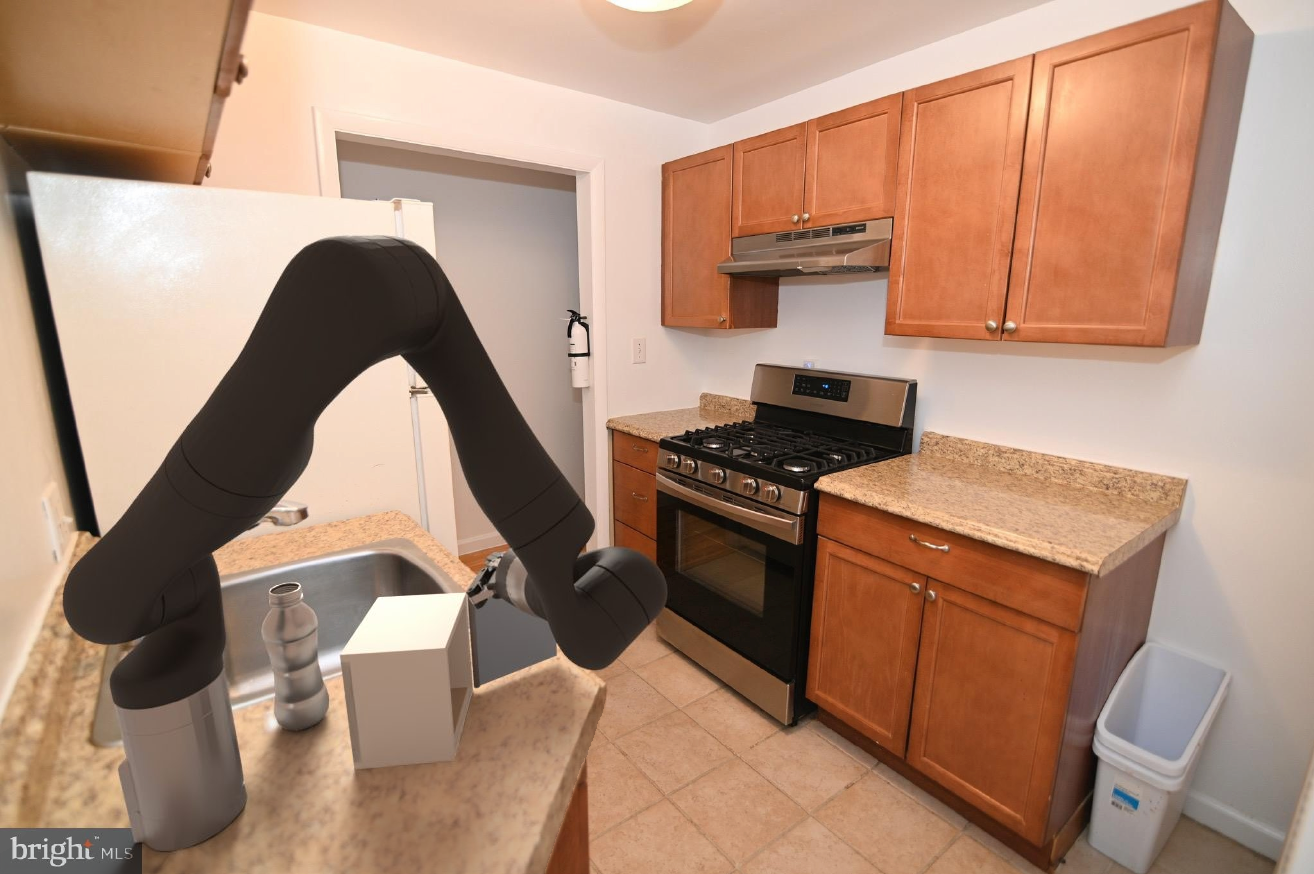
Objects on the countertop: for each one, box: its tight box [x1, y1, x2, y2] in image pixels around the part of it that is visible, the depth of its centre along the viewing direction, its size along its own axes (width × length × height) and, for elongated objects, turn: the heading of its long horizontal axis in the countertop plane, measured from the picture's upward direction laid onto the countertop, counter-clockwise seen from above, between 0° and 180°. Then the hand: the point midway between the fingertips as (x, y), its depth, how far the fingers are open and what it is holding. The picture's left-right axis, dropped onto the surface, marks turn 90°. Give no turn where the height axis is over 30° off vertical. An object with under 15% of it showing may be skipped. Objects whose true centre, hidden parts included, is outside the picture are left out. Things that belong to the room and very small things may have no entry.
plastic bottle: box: [260, 581, 330, 732], centre depth 80 cm, size 6×7×20 cm
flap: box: [466, 595, 558, 689], centre depth 90 cm, size 1×14×15 cm, turn 127°
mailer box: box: [339, 592, 474, 770], centre depth 79 cm, size 12×14×16 cm
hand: (493, 561), depth 80 cm, fingers closed
